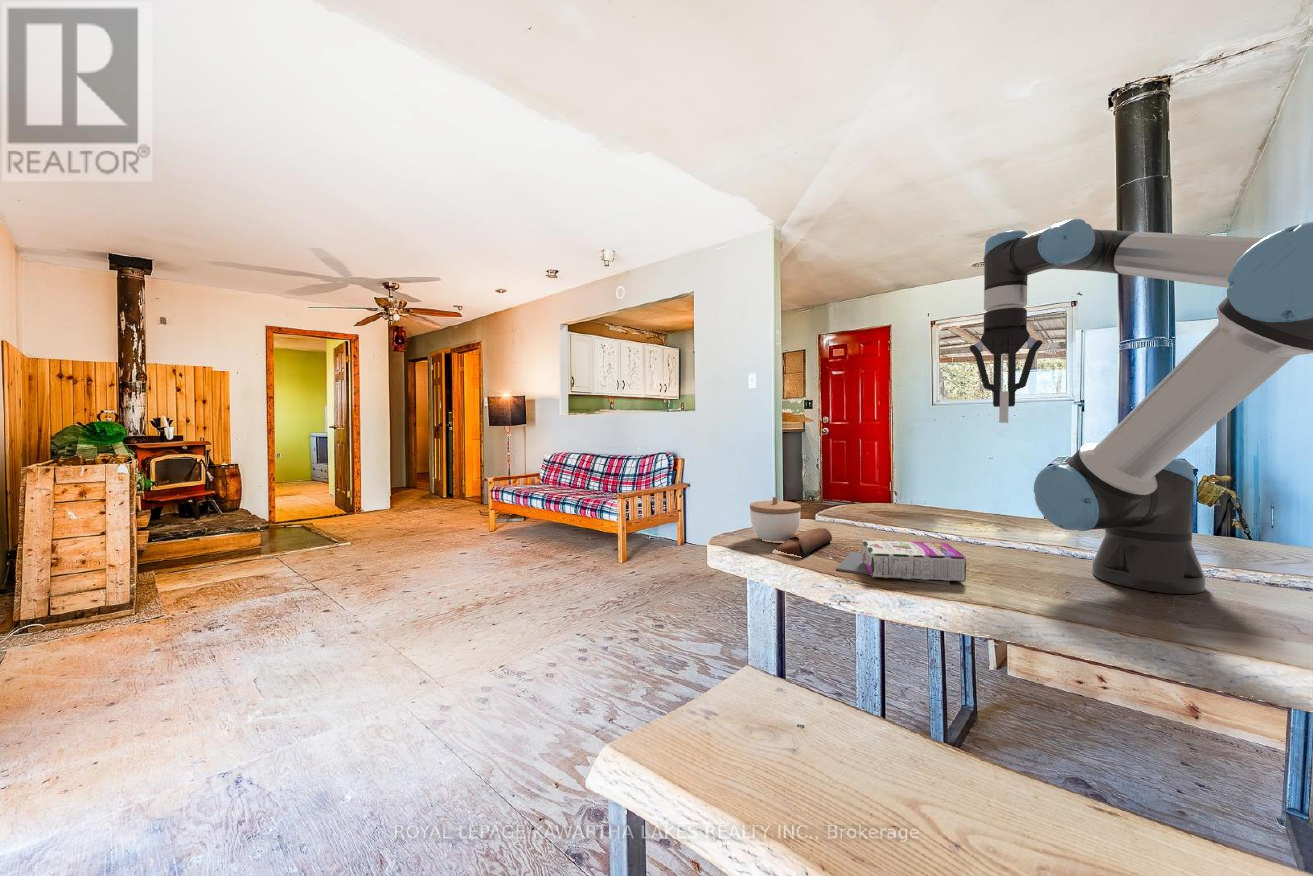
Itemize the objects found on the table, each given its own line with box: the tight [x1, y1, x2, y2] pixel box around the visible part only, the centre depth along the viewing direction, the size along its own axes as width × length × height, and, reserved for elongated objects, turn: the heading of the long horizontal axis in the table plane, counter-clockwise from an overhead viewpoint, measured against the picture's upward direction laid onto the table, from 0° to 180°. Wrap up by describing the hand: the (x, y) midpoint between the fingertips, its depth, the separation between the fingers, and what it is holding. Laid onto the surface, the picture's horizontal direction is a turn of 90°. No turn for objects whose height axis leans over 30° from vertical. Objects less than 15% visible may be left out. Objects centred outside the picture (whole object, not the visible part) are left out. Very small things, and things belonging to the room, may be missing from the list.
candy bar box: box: [861, 539, 967, 582], centre depth 102 cm, size 11×5×16 cm
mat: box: [835, 551, 951, 587], centre depth 107 cm, size 20×15×1 cm
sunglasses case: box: [773, 527, 833, 558], centre depth 124 cm, size 18×7×7 cm
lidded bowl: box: [749, 496, 802, 541], centre depth 132 cm, size 13×13×11 cm
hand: (1003, 422), depth 110 cm, fingers closed
